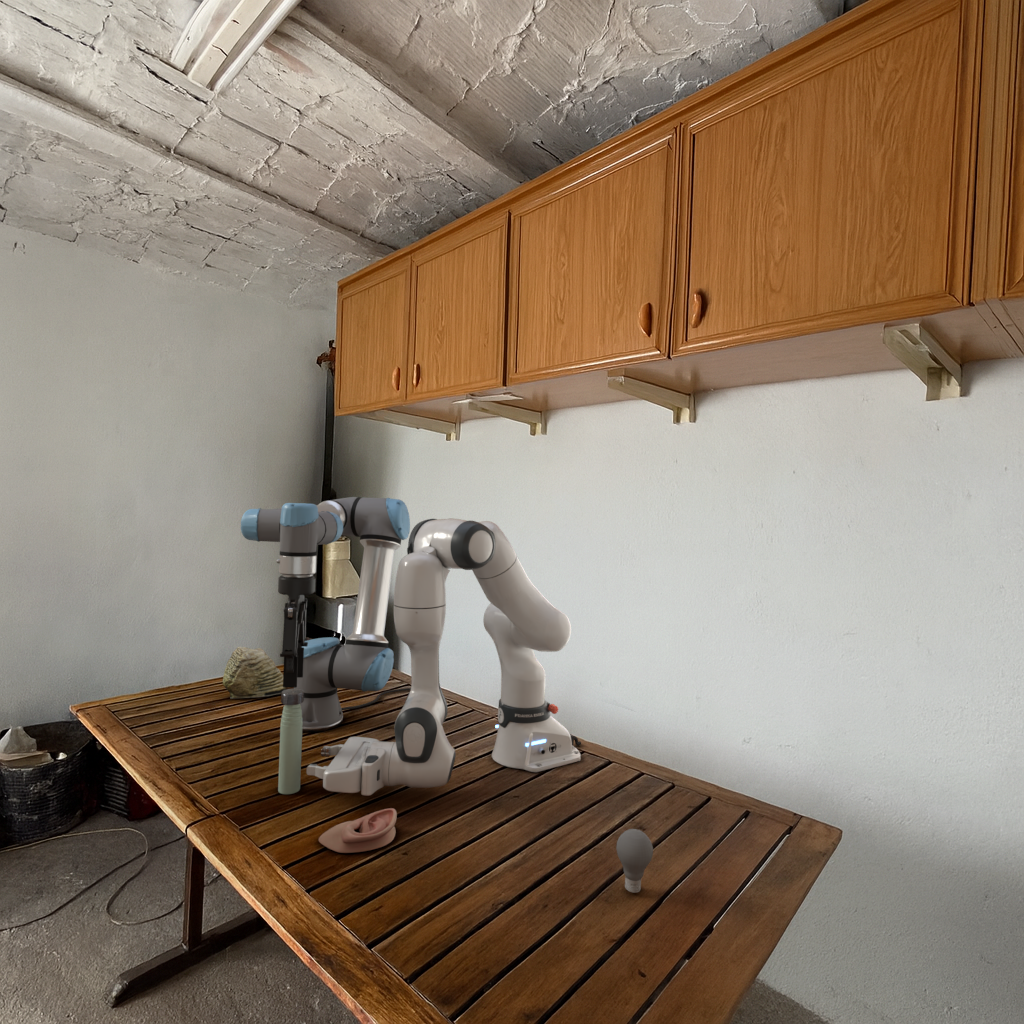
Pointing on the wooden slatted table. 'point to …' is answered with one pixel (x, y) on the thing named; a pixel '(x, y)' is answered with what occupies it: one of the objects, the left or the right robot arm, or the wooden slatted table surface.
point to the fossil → (252, 674)
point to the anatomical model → (362, 833)
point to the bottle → (290, 749)
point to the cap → (292, 696)
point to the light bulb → (634, 857)
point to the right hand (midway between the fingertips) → (315, 760)
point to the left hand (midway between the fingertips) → (293, 681)
